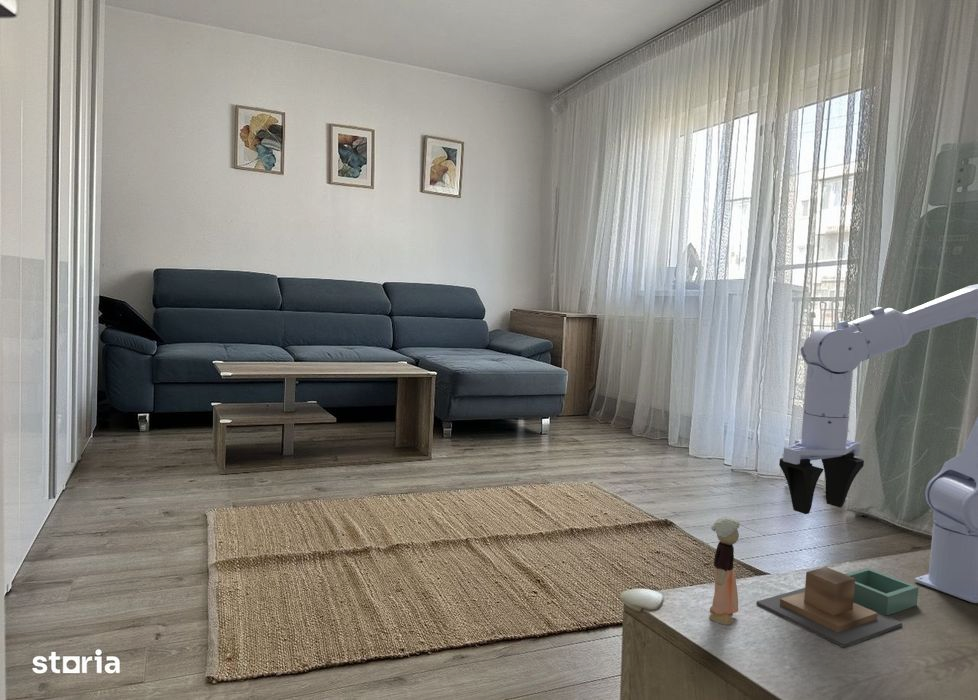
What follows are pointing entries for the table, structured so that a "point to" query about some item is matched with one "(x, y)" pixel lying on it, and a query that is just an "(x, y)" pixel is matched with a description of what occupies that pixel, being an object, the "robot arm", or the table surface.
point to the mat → (838, 638)
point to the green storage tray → (882, 592)
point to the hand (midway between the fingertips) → (818, 508)
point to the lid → (829, 601)
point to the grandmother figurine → (725, 571)
